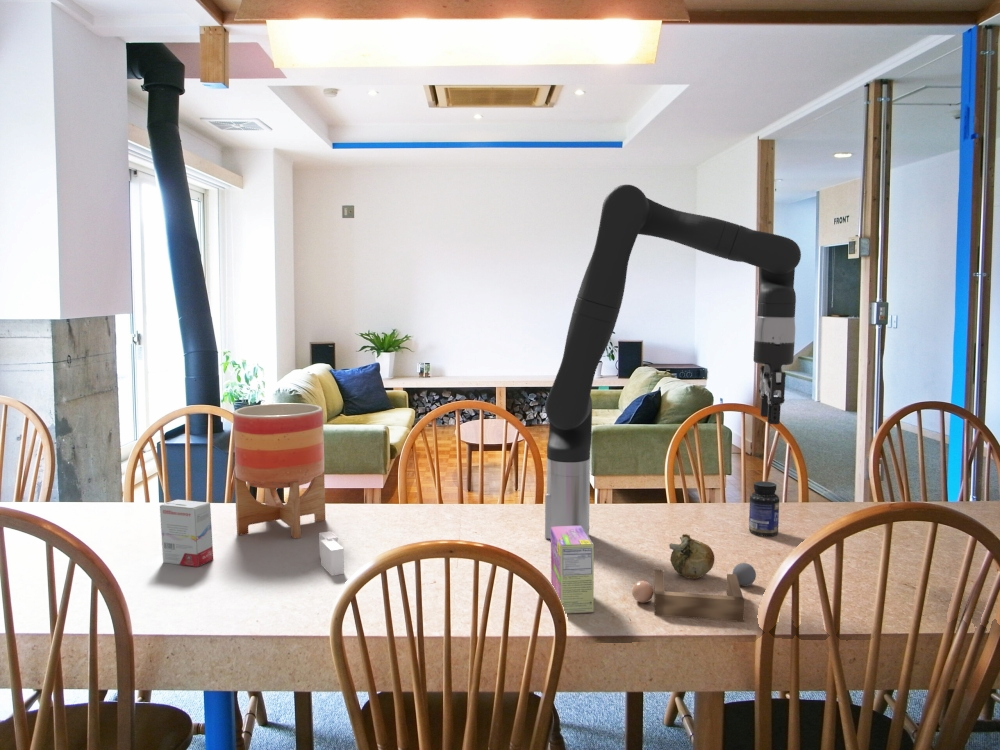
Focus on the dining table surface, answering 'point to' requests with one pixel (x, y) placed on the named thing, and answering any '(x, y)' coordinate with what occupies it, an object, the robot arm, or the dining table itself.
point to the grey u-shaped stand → (699, 601)
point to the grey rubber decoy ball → (744, 574)
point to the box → (572, 568)
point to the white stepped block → (331, 553)
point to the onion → (691, 557)
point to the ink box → (186, 532)
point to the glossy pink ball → (642, 591)
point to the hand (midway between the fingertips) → (769, 420)
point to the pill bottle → (764, 509)
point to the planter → (279, 463)
